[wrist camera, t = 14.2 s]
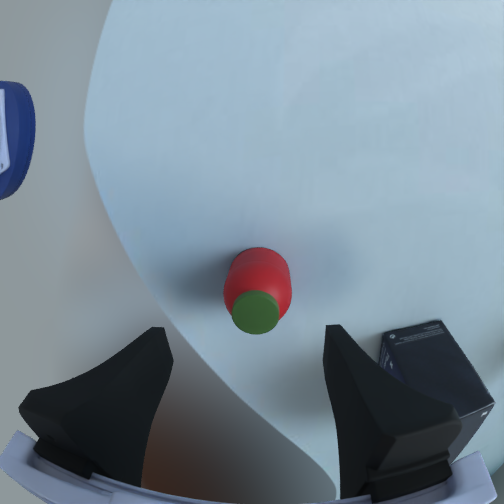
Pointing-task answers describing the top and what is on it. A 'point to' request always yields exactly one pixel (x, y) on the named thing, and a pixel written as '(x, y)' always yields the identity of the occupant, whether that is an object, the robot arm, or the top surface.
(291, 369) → the top surface
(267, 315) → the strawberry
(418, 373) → the small box
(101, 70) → the top surface
